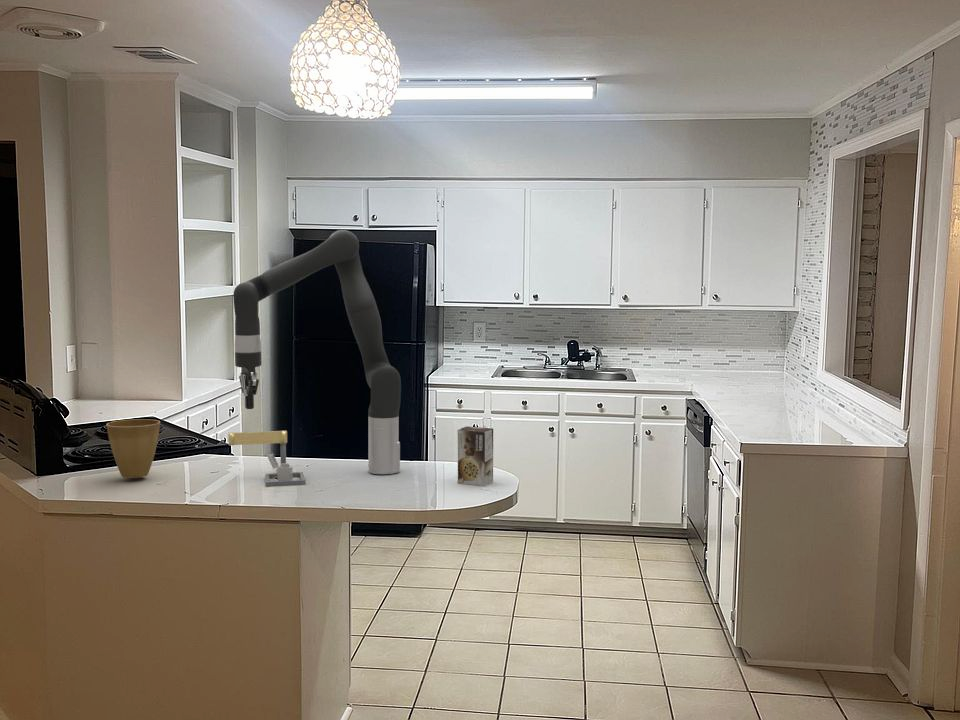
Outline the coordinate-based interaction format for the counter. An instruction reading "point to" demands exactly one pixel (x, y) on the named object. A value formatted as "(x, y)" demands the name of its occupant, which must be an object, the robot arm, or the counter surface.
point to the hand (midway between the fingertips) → (249, 408)
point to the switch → (288, 482)
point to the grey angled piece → (281, 469)
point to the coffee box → (475, 456)
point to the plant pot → (133, 445)
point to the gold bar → (257, 437)
